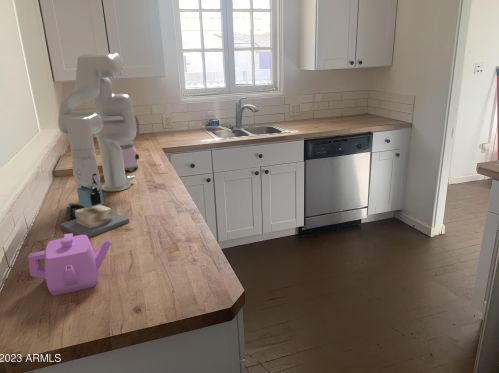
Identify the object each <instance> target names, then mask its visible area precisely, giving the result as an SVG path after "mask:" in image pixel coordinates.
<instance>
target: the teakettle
mask: <svg viewBox="0 0 499 373" xmlns="http://www.w3.org/2000/svg"><path fill="white" fill-rule="evenodd" d="M63 235H64V236H63V237H61V238H57V239H53V240H49V241H48V243H47V244H46V247H45V250H41V251H36V252H31V253H29V254H28V256H27V258H28V267H29V276H30V277H35V278H39V279H44V280H45V282H46V286H47V289H48V292H49V293H50V295H52V296H55V297H56V296H61V295H66V294H70V293H71V294H72V293H75V292H78V291H79V292H80V291H82V290H86V289H91V288H93V287H96V285H97V282H98V276H99V269H100V268H101V266H102V264H103V262H104V260H105V257H106V255H107V253H108V251H109V250H110V247H111V245H112V241H111V240H103V243H102V244H101V245H100V247H99V248H98V250H97V251H96V252H95V251H94V248H93V246H92V244H91V241H90V238H88V237H87V235H78V236H75V235H73V233H70V232H69V233H65V234H63ZM38 260H44V267H43V266H39V263H38Z"/></svg>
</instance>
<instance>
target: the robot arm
mask: <svg viewBox="0 0 499 373" xmlns="http://www.w3.org/2000/svg"><path fill="white" fill-rule="evenodd" d="M123 69H124V62H123V58H122V57H121V56H120V54H119V53H118V52H104V53H103V52H99V53H97V52H96V53H95V52H94V53H84V54H81V55H80V54H79V56H78V57H77V61H76V69H75V70H76V71H75V72H76V73H75V85H74V88H73V89H72V90H71V91H70V92H68V93H67V95H65V97H64V98H63V99H62V101H61V102H60V104H59V111H58V118H57V119H58V122H57V123H58V128H59V130H60V132H61V133H62V134H63V135H66V136H68V142H69V147H70V152H71V153H70V154H71V158H72V159H71V160H72V161H71V162H72V163H71V165H72V172H73V173H72V175H73V180H74V183H75V184H76V185H78V188H82V187H87V188H88V187H89V189H90V191H91V195H90V196H91V202H92V205H97V204H100V203H101V199H100V188H101V187H102V191H104V192H108V193H110V192H113V193H114V192H120V191H124V190H127V189H129V188H130V187H131V183H130V181H133V180H135V179H136V176H135V175H126V170H125V167H124V160H123V152H122V149H121V147H120V146H119V145H118V144H117V143H116V142H115V141H121V140H132V139H133V140H134V139H135V138H136V137H137V134H136V124H135V118H134V115H135V112H134V105H133V100H132V98H131V97H130V95H128V94H126V93H114V90H113V83H112V81H111V79H110V78H117V77H119V76H120V75H121V74H122V72H123ZM91 101H93V107H94V111H95V112H74V110H76V109H77V108H78V107H80V106H82V105H85V104H87V103H88V102H91ZM113 116H122V117H123V118H124V119H109V117H113ZM102 117H103V118H105V117H106V118H107V117H108V119H103V118H102ZM93 135H95V137H96V140H97V144H98V147H99V154H100V159H101V166H102V172H103V179H104V184H103V185H102V184H101V179H100V178H101V176H100V172H99V167H98V162H97V158H96V156H97V154H96V149H95V142H94V141H95V140H94V137H93ZM133 140H132V141H133ZM92 184H93V185H92ZM92 187H95V188H94V190H93V188H92Z"/></svg>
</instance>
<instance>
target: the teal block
mask: <svg viewBox="0 0 499 373" xmlns="http://www.w3.org/2000/svg"><path fill="white" fill-rule="evenodd" d="M92 185H94V183H93V184H92ZM92 188H93V190H94V188H95V187H92ZM76 191H77V198H78V203H79V205H82V206H84V207H86V208H91V207H94V206H97V205H100V204H101V205H103V204H105V201H104V195H103V194H104V193H103V190H102V186H101V188H100V199H101V203H100V204H97V205H92V202H91V196H90V195H91V191H90V189H89V187H88V188H87V187H82V188H79V187H78V188H77V189H76Z"/></svg>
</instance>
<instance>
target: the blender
mask: <svg viewBox="0 0 499 373" xmlns="http://www.w3.org/2000/svg"><path fill="white" fill-rule="evenodd" d="M134 118H135V125H136V135H140V134H139V133H140V120H139V118H138V116H136V115H135V114H134ZM108 119H124V118H123V117H122V116H113V117H108ZM133 140H134V139H132V140H121V141H115V142H116V143H117V144H118V145H119V146H120V147H121V149H122V152H123V160H124V167H125V171H129V173H130V172H135V170H134V169H138V168H139V164H138V160H139V159H140V156H139V154H137V149H136V148H135V146H134V144H133Z"/></svg>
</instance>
